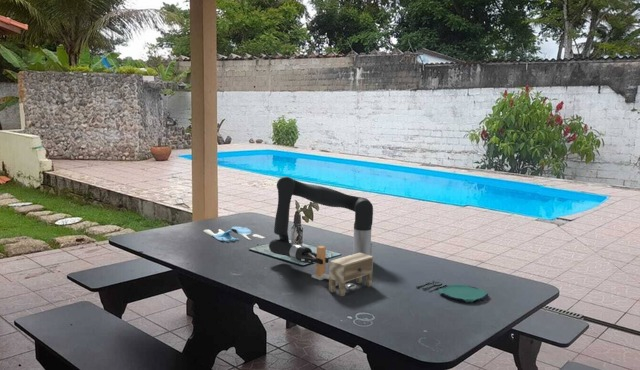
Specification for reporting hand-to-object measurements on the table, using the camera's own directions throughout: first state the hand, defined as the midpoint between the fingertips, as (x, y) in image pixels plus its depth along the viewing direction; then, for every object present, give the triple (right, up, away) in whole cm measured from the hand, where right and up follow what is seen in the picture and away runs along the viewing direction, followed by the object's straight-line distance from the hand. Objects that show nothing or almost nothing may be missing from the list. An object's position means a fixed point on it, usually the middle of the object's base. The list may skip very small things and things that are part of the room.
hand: (325, 261), depth 253 cm
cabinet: (+11, -11, -10) cm, 19 cm away
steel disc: (+11, -11, -10) cm, 19 cm away
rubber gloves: (-56, +4, +79) cm, 97 cm away
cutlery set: (+57, -13, -12) cm, 60 cm away
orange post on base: (+1, -9, 0) cm, 9 cm away
